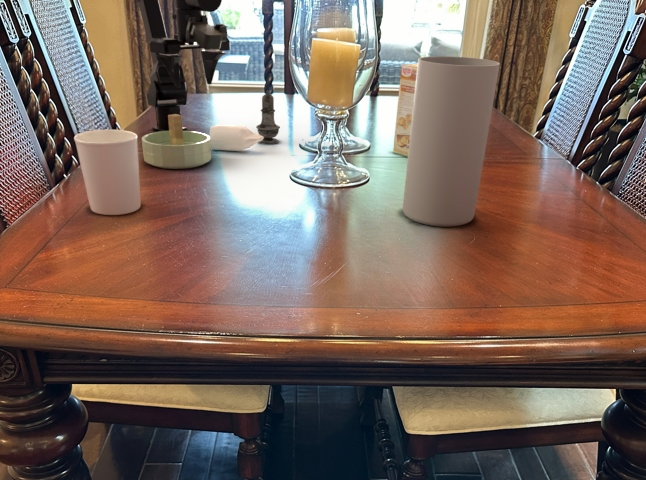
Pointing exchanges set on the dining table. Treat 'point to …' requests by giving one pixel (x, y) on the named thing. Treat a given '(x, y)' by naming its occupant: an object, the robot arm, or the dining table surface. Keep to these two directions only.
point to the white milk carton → (232, 138)
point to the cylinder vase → (448, 138)
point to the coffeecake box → (405, 109)
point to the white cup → (110, 170)
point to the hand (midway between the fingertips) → (193, 85)
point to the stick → (175, 129)
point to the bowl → (176, 150)
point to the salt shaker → (268, 121)
